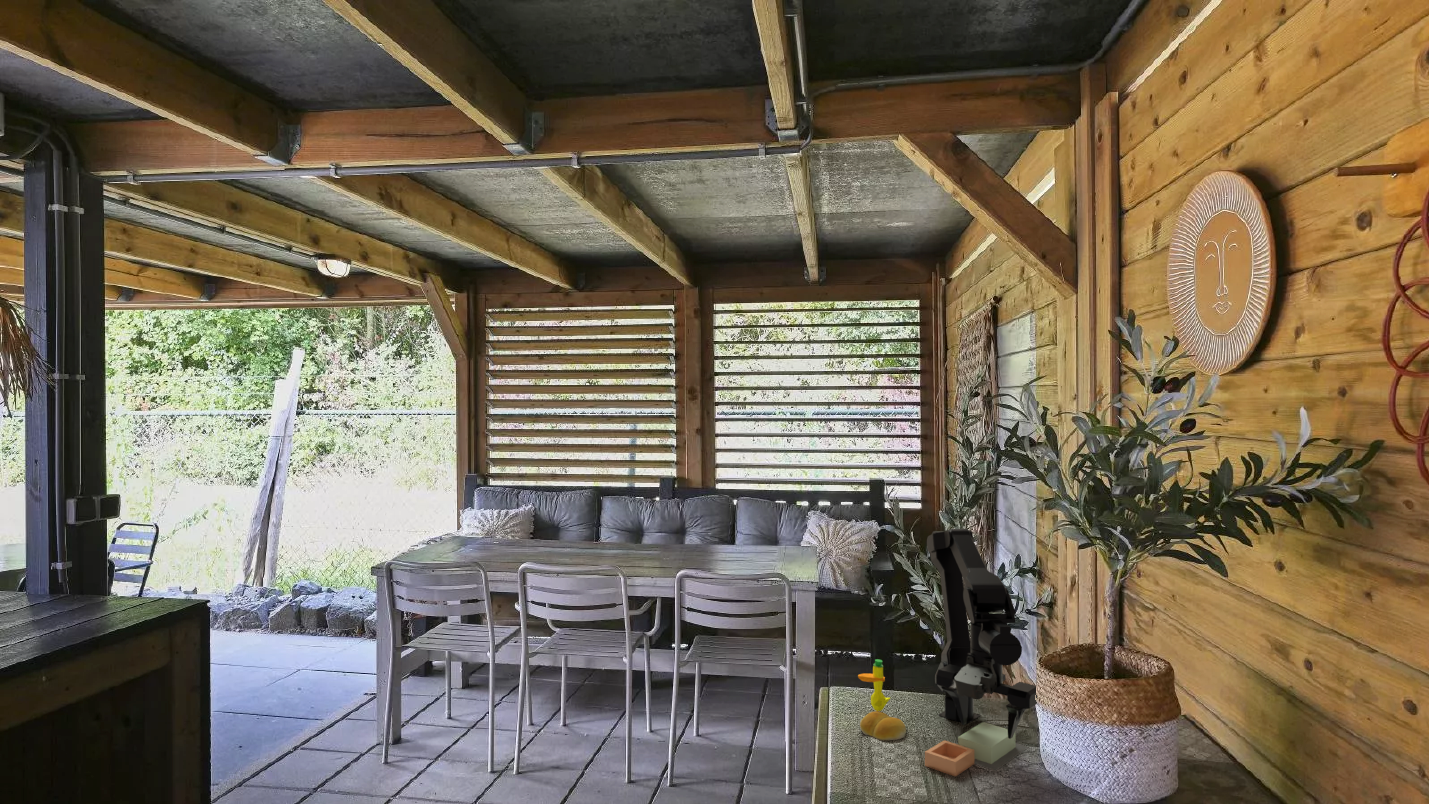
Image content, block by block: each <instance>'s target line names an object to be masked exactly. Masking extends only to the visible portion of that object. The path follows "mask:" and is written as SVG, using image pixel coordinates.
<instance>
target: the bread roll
mask: <svg viewBox="0 0 1429 804" xmlns="http://www.w3.org/2000/svg"><path fill="white" fill-rule="evenodd" d="M859 727H860V730H861V731H862V733H863V735H865V736H867V737H868V736H871V737H873V738H875V739H877V740H880V741H895V740H901V739H903V738H904V737H906V735H907V734H906V733H907V728H906V725H905V723H904V722H903V721H902V720H901V719H900V718H898V717H894V716H889V715H888V714H887V713H885V712H883V711H875V710H874V711H871V712H869V713H867V714H866V715H865V716H863V718H862V719H861V720H860V721H859Z"/></svg>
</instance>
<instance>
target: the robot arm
mask: <svg viewBox="0 0 1429 804" xmlns="http://www.w3.org/2000/svg"><path fill="white" fill-rule="evenodd" d="M926 549H927V551H928V553H930V554H929V556H930V562H931V563H932V564H933V566H934V567H935V568H936V570H937V571H938V572H939V574H940V575H939V577H940V585H941V594H942V602H943V604H942V605H943V612H944V621H945V622H944V623H945V631H946V637H947V639H946V643H945V646H944V648H943V650H942V652H941V655H940V657H941V661H940V663H939V665H938V668H937V670H936V673H935V675H934V684H935V685H936V686H937V687H938V688H939V689H940V690H941V692H943V693H944V711H942V712H940V713H939V714H938V717H941V718H944V719H948V720H951V721H954V722H956V723H957V722H958V723H961V724H962V725H964V726H965V725H967V724H969V723H971V722H973V721H974V720H976V719H978V718H980V717H981V714H979V713H976V712H974V711H975V709H974V707H975V706H974V703H975V702H974V700H981V699H982V698H983V697H984V696H985V694H988V695H993V694H994V693H995V694H997V695H998V694H999V695H1002V696H1006V698H1007V699H1006V700H1007V701H1008V702H1009V703H1007V704H1006V705H1005V708H1006V710H1007V711H1008V712H1007V713H1008V714H1007V717H1008V719H1007V729H1008V738H1009V739H1011V738H1012V737H1013V735H1014V733H1015V734H1016V730H1017V729H1018V726H1019V723H1020V721H1021V719H1022V717H1023V715H1024V713H1025V712H1026V710H1030V709H1032V708H1033V707H1035V706H1036V705H1037V702H1036V700H1035V695H1036V686H1037V685H1035V684H1031V683H1028V682H1023V681H1019V682H1017V683H1015V684H1012V685H1010V684H1005V683H1003V682H1005V680H1006V674H1004V673H1003V666H1011V665H1014V664H1015V663H1016V662H1018V661H1019V660H1020V658H1021V656H1022V653H1023V646H1022V644H1021V641H1020V640H1019V638H1018V637H1017V636H1016V635H1015V634H1013V633H1012V631H1011V630H1012V629H1011V628H1012V627H1011V626H1010V625H1008V624H1016V618H1015V617H1016V613H1017V612H1016V609H1015V606H1014V604H1013V600H1012V597H1011V594H1010V592H1009V589H1007V587H1006V586H1005V584H1004V583H1003V581H1002V580H1001V578H1000V577H999V576H998V575H997V574H994V573H993V572H991V571H989V570H988V568H987V566H986V564H985V562H984V560H983V558H982V556H981V554H980V551H979V549H978V548H977V545H976V543H975V542H974V535H973V531H972V530H970V529H968V528H949V529H946V530H943V531H942V530H940V531H937V530H933V531H932V533H931V534H930V535H928V536H927V539H926ZM964 582H965V584H964ZM1003 612H1004V613H1003ZM968 618H969V621H970V622H969V621H968ZM969 623H970V627H969ZM969 628H970V629H969ZM1036 698H1037V695H1036Z"/></svg>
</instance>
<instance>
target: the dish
mask: <svg viewBox="0 0 1429 804" xmlns="http://www.w3.org/2000/svg"><path fill="white" fill-rule="evenodd" d="M974 765H975V764H974V750H973V749H970V748H967V747H964V746H961V745H958V743H954V742H952V741H951V742H950V741H948V740H945V739H944V740H942V741H940V742H939V743H937V744H936V745H934V746H932V747H930V748H928V749H927V750H925V751H924V766H925V767H927V768H929V769H933V770H936V771H938V772H941V773H944V774H946V775H950V776H953V777H957V776H959V775H960V774H962V773H963V772H965V771H966V770H968V769H969V768H971V767H972V766H974Z"/></svg>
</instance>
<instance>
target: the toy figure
mask: <svg viewBox="0 0 1429 804" xmlns="http://www.w3.org/2000/svg"><path fill="white" fill-rule="evenodd" d="M857 678H858V679H859V680H860V681H862V682H867V683H873V689H874V690H873V691H874V692H873V693H872V694H871V696H870V704H871V707H872V708H873V710H874V711H880V712H883V710H884V708H885V707H886V705H887V704H888V703H889V701H890V699H891V697H886V696H885V694H884V693H883V685H884V682H886V679H885V678H886V677H885V676H884V665H883V660H882V659H878V658H877V659H874V663H873V666H872V673H860V674H858V675H857Z"/></svg>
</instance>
